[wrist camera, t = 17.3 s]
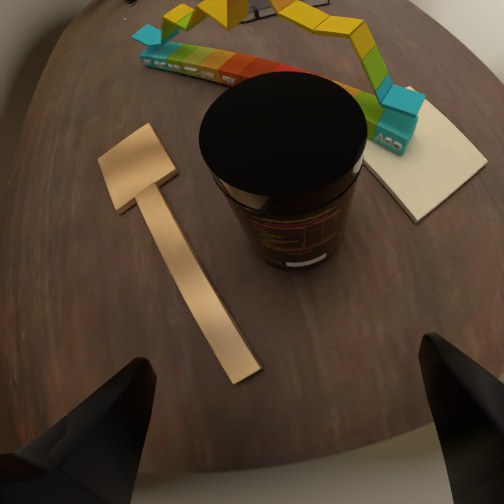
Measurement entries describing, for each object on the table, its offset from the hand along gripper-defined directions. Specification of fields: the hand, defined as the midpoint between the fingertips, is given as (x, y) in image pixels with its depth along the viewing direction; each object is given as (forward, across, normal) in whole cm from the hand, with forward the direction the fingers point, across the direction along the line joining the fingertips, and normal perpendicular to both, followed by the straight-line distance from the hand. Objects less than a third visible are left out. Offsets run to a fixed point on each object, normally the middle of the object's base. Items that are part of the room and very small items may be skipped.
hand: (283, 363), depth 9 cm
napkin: (+17, -11, -3) cm, 21 cm away
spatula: (+14, +9, 0) cm, 16 cm away
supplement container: (+13, -1, +1) cm, 13 cm away
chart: (+24, +1, -10) cm, 26 cm away
